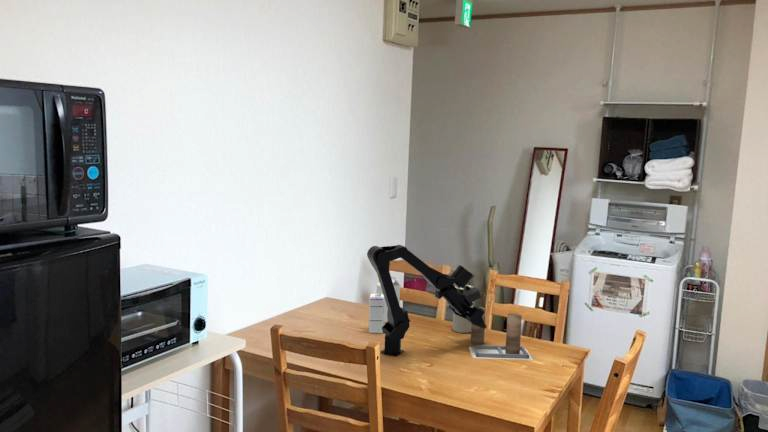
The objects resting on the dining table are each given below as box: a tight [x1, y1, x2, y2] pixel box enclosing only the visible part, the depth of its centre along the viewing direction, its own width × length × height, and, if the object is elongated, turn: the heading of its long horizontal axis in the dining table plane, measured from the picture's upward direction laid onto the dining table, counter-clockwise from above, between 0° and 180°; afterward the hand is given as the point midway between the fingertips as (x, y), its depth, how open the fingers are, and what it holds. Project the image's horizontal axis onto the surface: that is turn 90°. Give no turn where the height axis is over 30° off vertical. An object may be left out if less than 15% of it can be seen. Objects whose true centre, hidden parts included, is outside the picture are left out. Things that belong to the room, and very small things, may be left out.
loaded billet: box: [505, 313, 523, 354], centre depth 226 cm, size 5×5×14 cm
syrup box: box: [368, 293, 385, 334], centre depth 251 cm, size 6×6×14 cm
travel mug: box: [452, 284, 475, 334], centre depth 255 cm, size 8×8×18 cm
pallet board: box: [468, 344, 534, 361], centre depth 227 cm, size 21×12×2 cm, turn 90°
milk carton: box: [375, 275, 401, 323], centre depth 267 cm, size 7×7×19 cm
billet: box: [470, 306, 487, 345], centre depth 238 cm, size 5×5×14 cm
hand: (479, 324), depth 238 cm, fingers open, 9 cm apart
